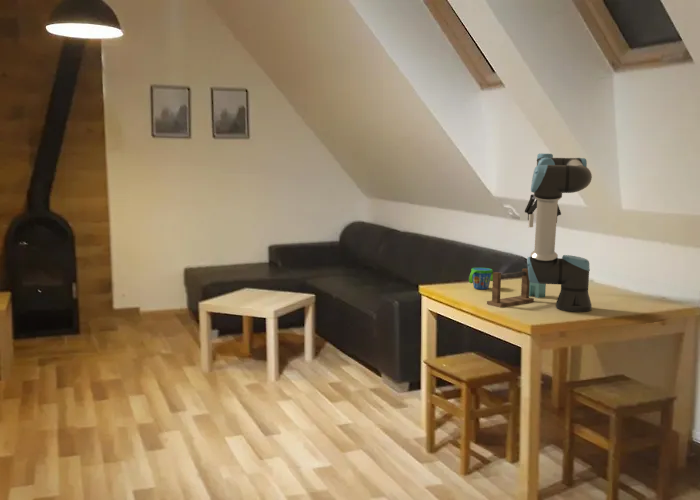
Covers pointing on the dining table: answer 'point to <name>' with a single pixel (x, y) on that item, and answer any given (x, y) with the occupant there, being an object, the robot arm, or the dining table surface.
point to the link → (537, 290)
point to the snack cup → (481, 277)
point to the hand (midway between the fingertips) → (541, 228)
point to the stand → (512, 300)
